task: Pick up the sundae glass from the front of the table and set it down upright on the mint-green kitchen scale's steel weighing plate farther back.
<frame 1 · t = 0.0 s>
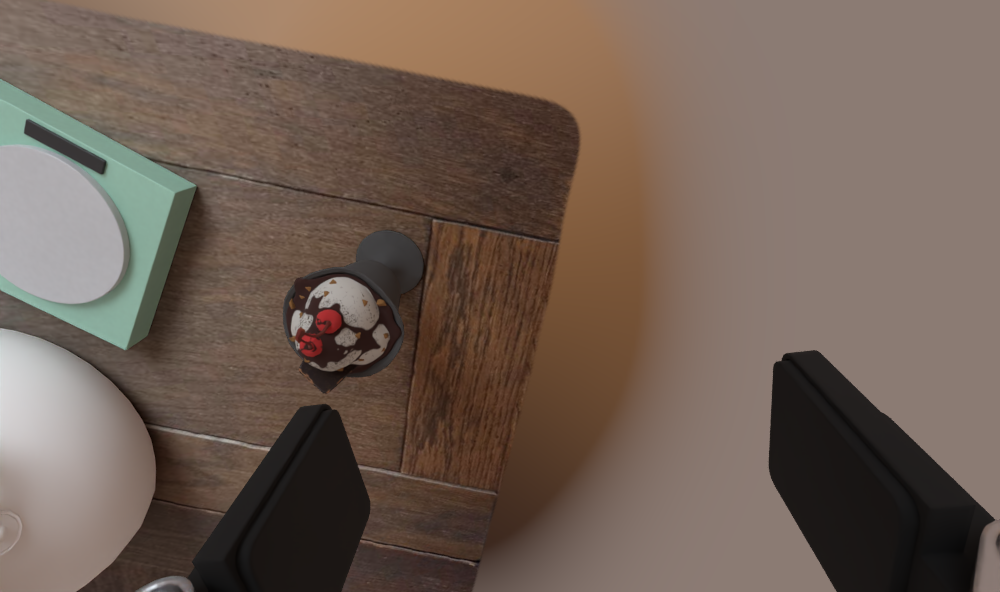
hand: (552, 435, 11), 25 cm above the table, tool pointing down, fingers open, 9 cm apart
sundae: (390, 261, 37), on the table
scale: (78, 218, 37), on the table
pot: (43, 428, 46), on the table
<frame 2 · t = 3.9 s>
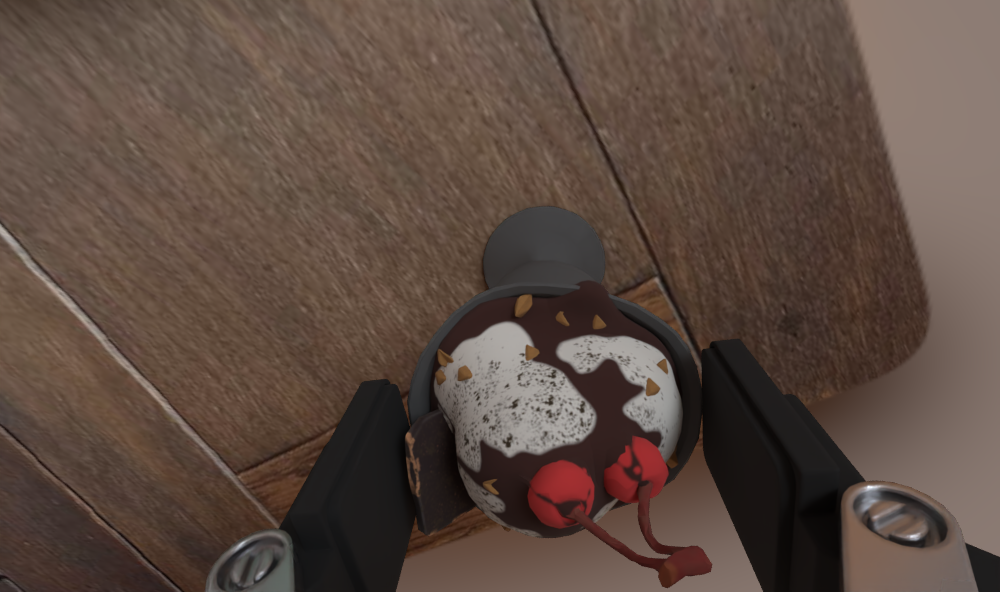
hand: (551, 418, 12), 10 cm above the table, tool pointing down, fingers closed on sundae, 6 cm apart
sundae: (544, 262, 21), on the table, touching gripper
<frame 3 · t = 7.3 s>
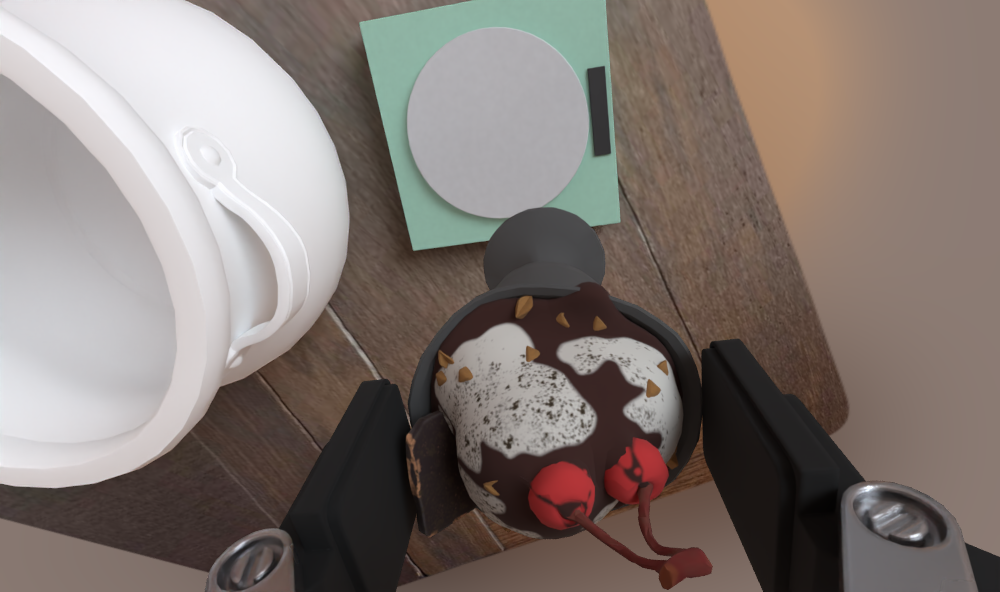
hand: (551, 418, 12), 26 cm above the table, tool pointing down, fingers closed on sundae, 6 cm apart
sundae: (544, 263, 21), point 15 cm above the table, touching gripper
scale: (499, 125, 33), on the table
pot: (199, 188, 36), on the table
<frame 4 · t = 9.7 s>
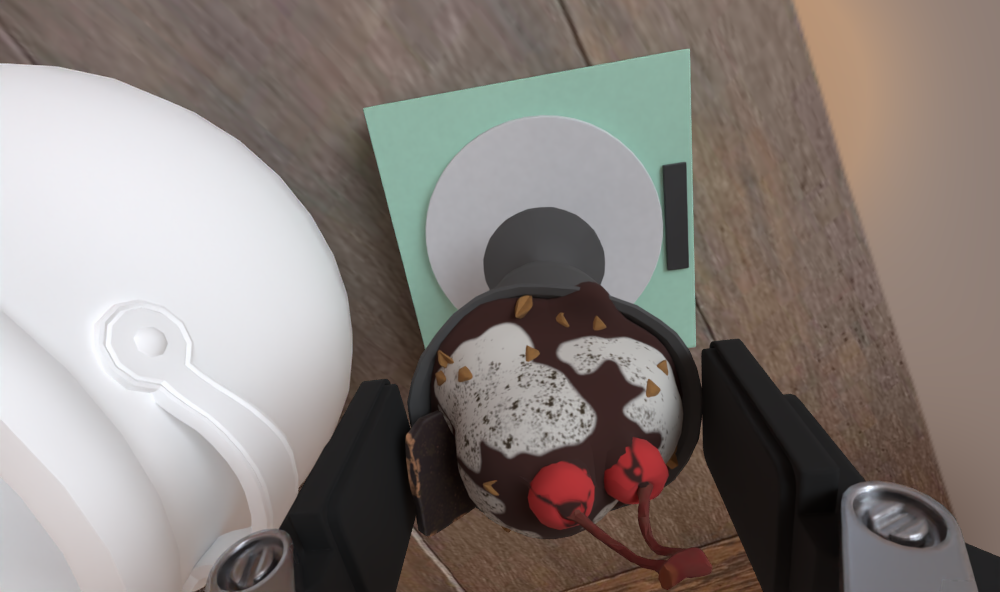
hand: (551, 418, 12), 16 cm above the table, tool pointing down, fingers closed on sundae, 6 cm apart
sundae: (544, 262, 21), point 6 cm above the table, touching gripper
scale: (541, 223, 26), on the table
pot: (168, 294, 30), on the table
when the fingers open (13 cm above the table, at t = 11.1 s): sundae stays where it is, resting on scale.
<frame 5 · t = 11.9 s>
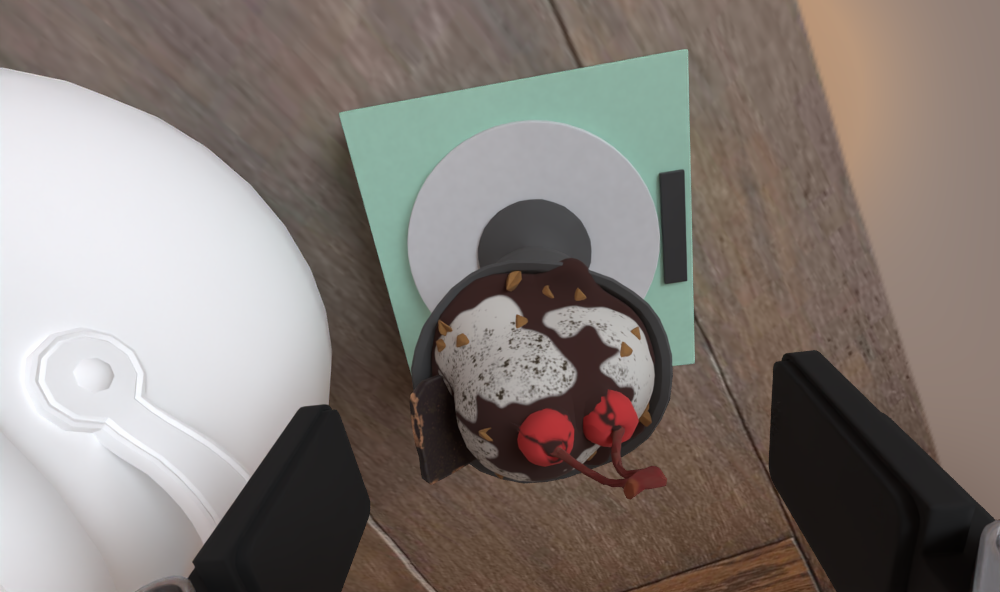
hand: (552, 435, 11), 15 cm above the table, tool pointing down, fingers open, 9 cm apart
sundae: (534, 252, 22), point 3 cm above the table, touching scale
scale: (531, 233, 25), on the table
pot: (136, 309, 28), on the table
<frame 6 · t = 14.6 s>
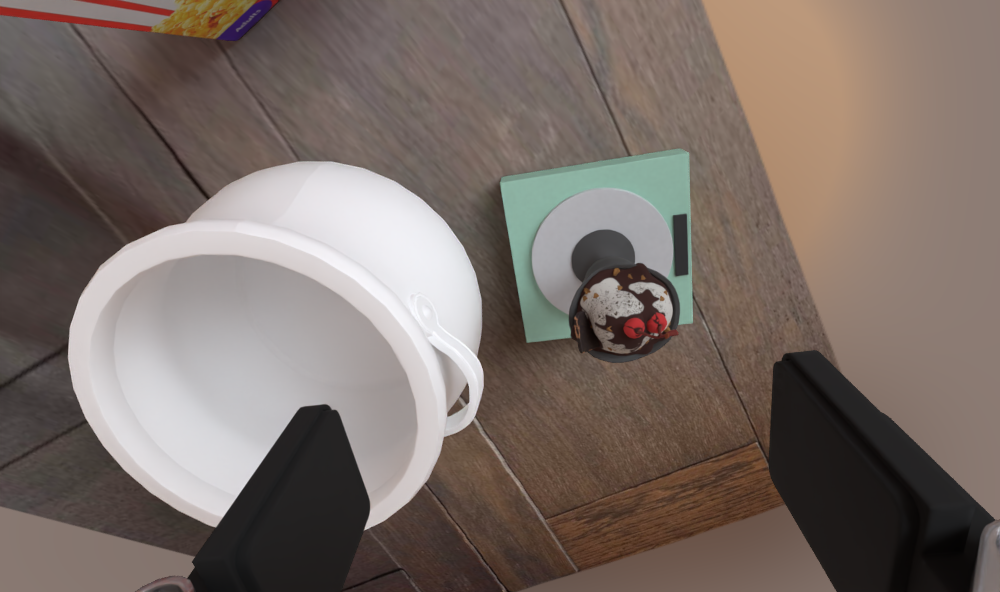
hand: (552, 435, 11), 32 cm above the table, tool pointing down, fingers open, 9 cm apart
sundae: (603, 257, 40), point 3 cm above the table, touching scale
scale: (597, 246, 43), on the table
pot: (352, 291, 46), on the table
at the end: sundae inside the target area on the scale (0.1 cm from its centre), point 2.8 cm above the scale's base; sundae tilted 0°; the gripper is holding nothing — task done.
